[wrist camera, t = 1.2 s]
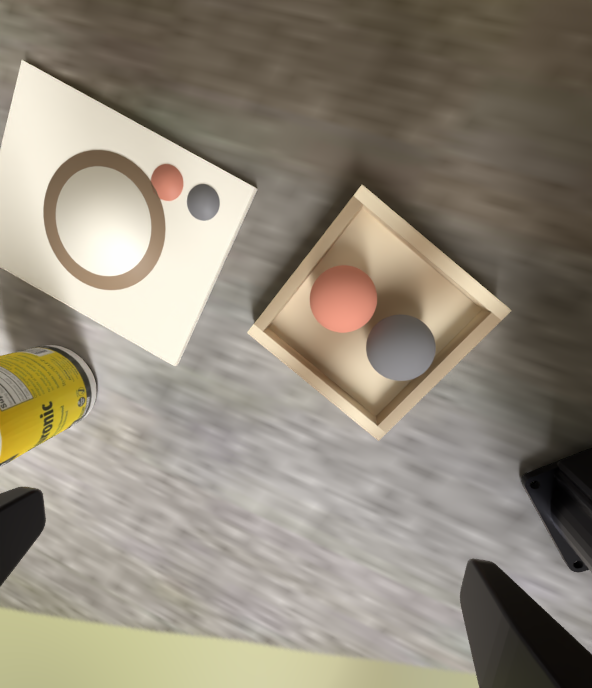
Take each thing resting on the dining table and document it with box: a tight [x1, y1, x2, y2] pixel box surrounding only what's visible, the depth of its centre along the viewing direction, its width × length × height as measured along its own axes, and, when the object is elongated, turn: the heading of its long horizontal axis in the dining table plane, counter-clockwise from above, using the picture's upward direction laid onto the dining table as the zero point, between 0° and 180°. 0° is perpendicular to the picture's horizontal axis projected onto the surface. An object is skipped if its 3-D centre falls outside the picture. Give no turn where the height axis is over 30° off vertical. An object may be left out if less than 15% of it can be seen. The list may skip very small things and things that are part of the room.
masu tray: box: [247, 185, 512, 441], centre depth 17 cm, size 9×9×2 cm
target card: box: [0, 60, 257, 366], centre depth 19 cm, size 14×11×1 cm
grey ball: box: [366, 314, 436, 381], centre depth 16 cm, size 3×3×3 cm
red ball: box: [310, 265, 377, 333], centre depth 16 cm, size 3×3×3 cm
